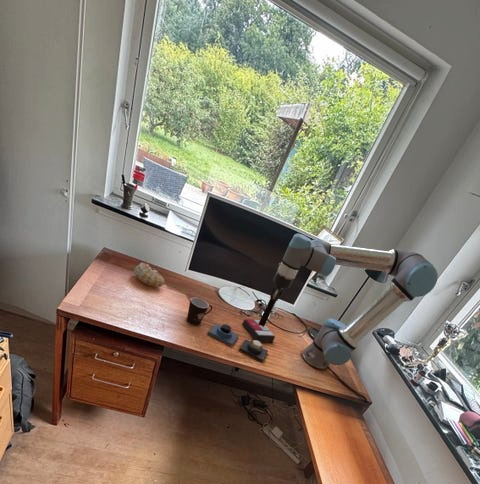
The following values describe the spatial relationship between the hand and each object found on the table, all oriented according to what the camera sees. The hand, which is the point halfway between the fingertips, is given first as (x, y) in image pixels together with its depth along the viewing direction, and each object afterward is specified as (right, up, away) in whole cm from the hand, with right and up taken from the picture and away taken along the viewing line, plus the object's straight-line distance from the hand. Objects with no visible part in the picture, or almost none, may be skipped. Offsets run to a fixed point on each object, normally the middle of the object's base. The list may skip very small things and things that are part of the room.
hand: (261, 324), depth 152 cm
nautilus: (-56, +27, +20) cm, 65 cm away
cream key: (-2, -8, +7) cm, 11 cm away
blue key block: (-18, -3, +9) cm, 20 cm away
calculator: (-1, +1, +24) cm, 24 cm away
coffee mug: (-30, +3, +9) cm, 31 cm away
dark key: (-16, -1, +7) cm, 18 cm away
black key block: (-3, -10, +9) cm, 14 cm away
